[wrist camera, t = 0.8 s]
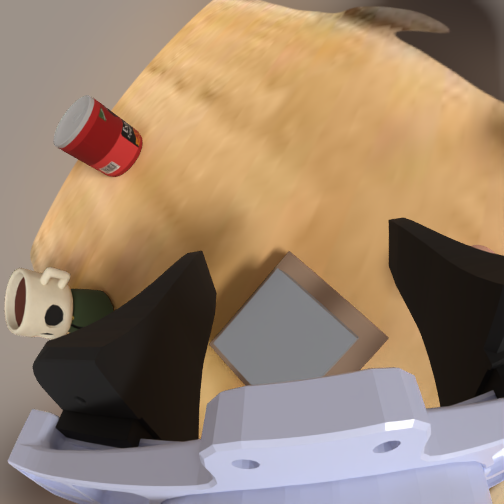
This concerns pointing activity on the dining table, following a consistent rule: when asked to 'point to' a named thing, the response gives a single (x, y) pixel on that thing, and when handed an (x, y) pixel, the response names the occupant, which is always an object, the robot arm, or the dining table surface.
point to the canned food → (98, 137)
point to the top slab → (284, 335)
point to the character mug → (50, 304)
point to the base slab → (337, 306)
